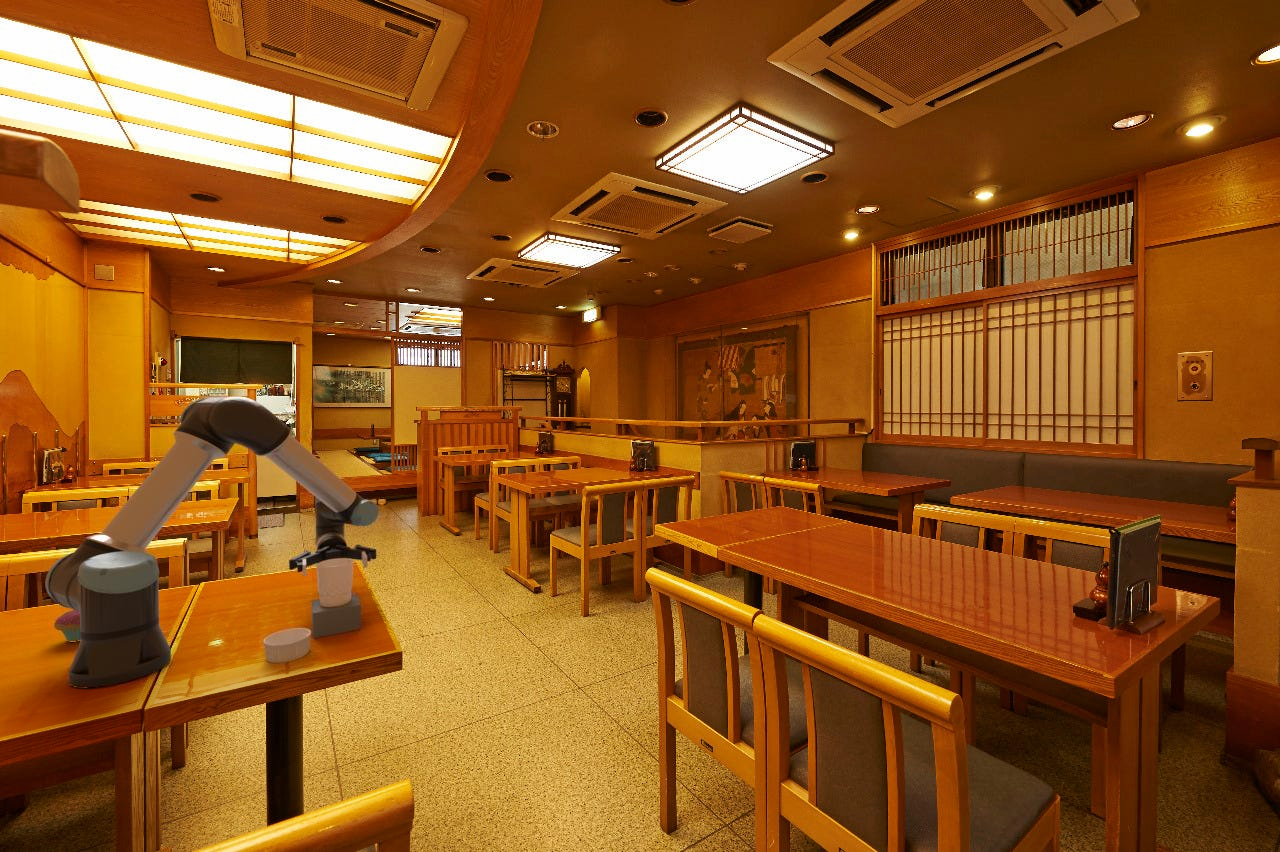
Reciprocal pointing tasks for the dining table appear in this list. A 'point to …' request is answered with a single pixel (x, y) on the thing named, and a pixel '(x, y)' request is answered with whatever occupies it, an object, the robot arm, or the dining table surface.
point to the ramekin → (287, 645)
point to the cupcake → (69, 625)
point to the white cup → (335, 581)
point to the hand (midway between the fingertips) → (335, 566)
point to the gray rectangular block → (336, 618)
